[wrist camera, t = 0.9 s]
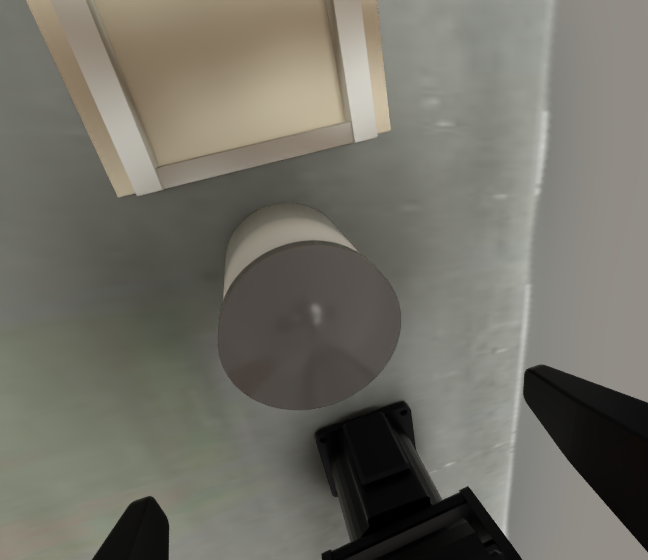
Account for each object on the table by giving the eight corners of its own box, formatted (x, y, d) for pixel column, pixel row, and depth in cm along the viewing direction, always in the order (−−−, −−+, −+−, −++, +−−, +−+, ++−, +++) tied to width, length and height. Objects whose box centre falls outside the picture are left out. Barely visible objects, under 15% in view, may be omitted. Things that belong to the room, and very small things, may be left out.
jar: (354, 296, 20) (409, 379, 14) (245, 329, 19) (250, 431, 13) (333, 186, 17) (390, 227, 11) (204, 219, 17) (187, 283, 10)
